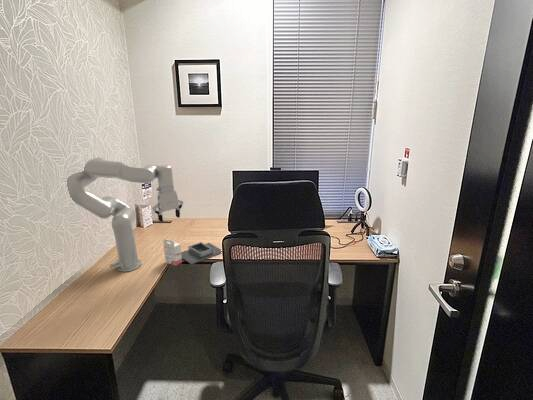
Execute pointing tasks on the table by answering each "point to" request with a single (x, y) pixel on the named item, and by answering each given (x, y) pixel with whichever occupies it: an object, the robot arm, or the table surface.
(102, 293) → the table surface
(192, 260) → the cartridge dock
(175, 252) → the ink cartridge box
